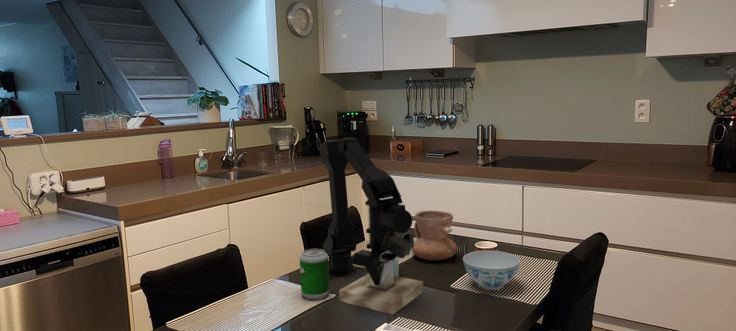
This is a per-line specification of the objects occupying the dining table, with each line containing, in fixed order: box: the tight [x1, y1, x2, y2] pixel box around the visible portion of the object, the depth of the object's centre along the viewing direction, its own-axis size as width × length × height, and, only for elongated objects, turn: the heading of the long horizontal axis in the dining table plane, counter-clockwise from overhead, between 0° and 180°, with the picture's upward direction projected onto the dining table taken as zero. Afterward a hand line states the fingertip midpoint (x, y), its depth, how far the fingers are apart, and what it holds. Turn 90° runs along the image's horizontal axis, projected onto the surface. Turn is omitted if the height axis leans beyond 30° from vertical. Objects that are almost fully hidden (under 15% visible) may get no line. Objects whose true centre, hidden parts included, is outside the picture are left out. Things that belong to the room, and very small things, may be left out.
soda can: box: [299, 248, 330, 300], centre depth 139 cm, size 8×8×12 cm
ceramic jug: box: [411, 209, 458, 262], centre depth 168 cm, size 18×14×14 cm
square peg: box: [370, 257, 394, 292], centre depth 137 cm, size 4×4×8 cm
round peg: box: [393, 257, 400, 277], centre depth 152 cm, size 7×7×8 cm
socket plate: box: [338, 273, 424, 315], centre depth 137 cm, size 16×16×3 cm
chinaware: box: [462, 250, 521, 291], centre depth 142 cm, size 15×15×8 cm
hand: (381, 282), depth 137 cm, fingers closed on square peg, 4 cm apart
